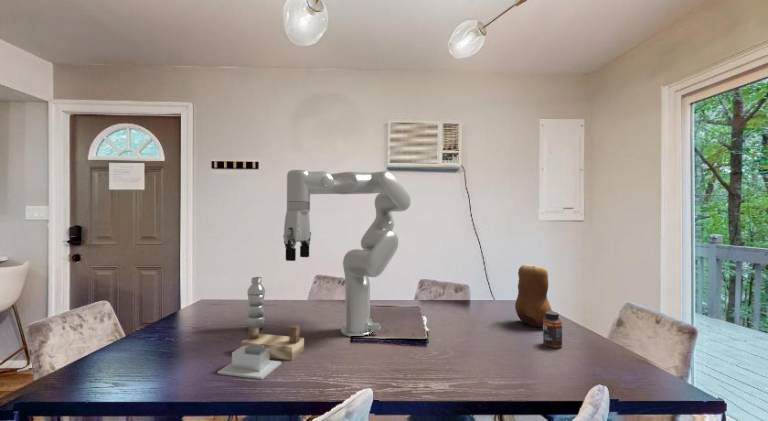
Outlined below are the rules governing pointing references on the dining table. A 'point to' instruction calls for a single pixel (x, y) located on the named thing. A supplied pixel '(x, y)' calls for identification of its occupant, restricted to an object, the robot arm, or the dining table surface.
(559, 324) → the supplement bottle
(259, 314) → the plastic bottle
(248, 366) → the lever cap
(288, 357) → the wooden peg stand
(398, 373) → the dining table surface
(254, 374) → the mat
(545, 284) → the butternut squash
